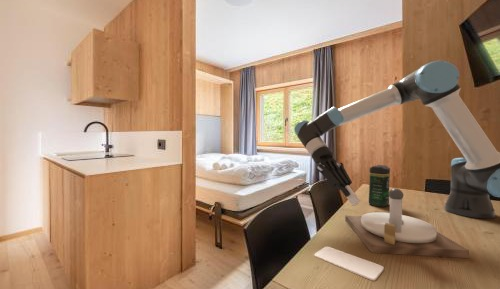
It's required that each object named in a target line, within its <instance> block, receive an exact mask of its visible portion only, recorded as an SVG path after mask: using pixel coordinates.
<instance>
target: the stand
mask: <svg viewBox="0 0 500 289" xmlns="http://www.w3.org/2000/svg"><path fill="white" fill-rule="evenodd" d="M361 216H362V215H345V218H344V219H345V222H346V223H347V225H348V226H349V227H350V228H351V229H352V230H353V232H354V233H355V234H356V236H357V237H358V238H359V239H360V240H361V241H362V243H363V244H364V245H365V247H366V248H367V249H368V251H369V252H371V253H372V254H373V253H376V254H377V253H378V254H389V255H390V254H394V255H408V256H409V255H411V256H426V257H443V258H444V257H445V258H446V257H447V258H458V259H459V258H462V259H463V258H465V259H469V258H470V250H469V249H467V248H466V247H464V246H462V245H460V244H459V243H457V242H456V241H454V240H452V239H450V238H449V237H447V236H445V235H443V234H442V233H440V232H438V231H437V235H436V240H435V241H433V242H429V243H407V242H400V241H395V226H396V225H393V224H388V223H385V228H384V238H383V237H380V236H378V235H375V234H373V233H371V232H369V231H367V230H365V229H364V228H363V227H362V225H361Z"/></svg>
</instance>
